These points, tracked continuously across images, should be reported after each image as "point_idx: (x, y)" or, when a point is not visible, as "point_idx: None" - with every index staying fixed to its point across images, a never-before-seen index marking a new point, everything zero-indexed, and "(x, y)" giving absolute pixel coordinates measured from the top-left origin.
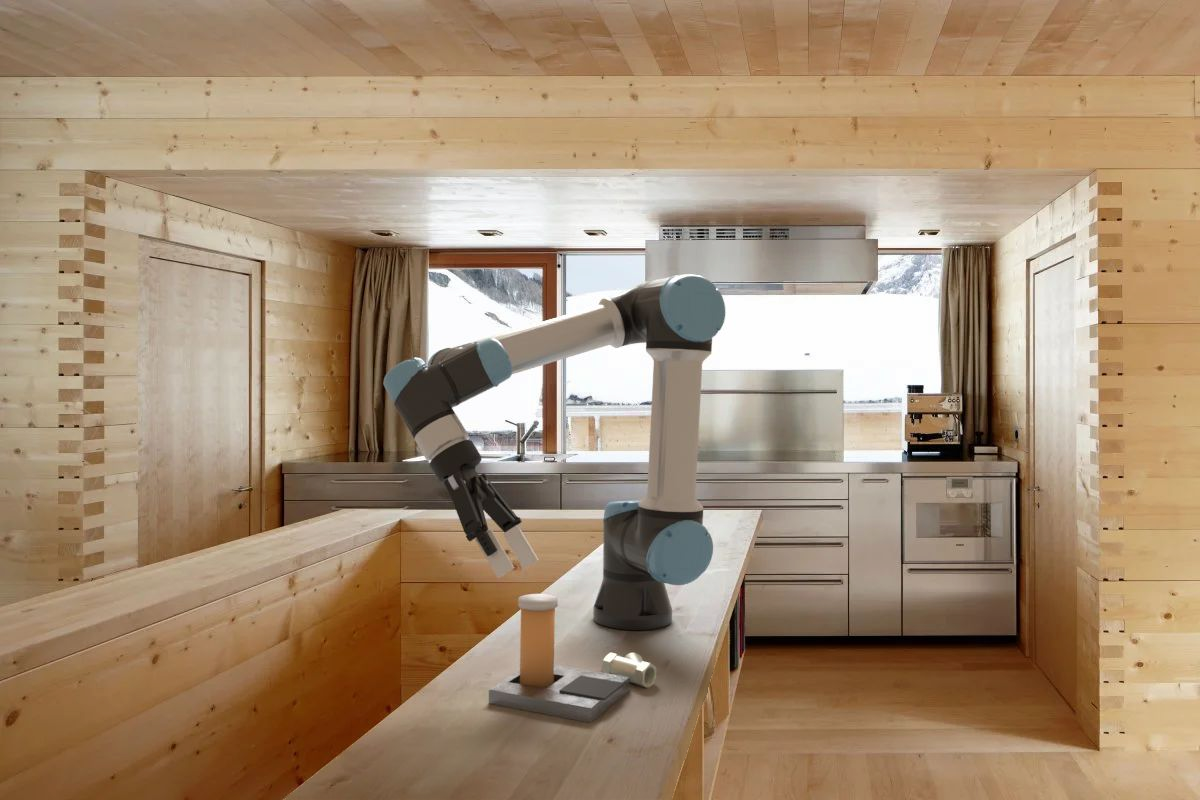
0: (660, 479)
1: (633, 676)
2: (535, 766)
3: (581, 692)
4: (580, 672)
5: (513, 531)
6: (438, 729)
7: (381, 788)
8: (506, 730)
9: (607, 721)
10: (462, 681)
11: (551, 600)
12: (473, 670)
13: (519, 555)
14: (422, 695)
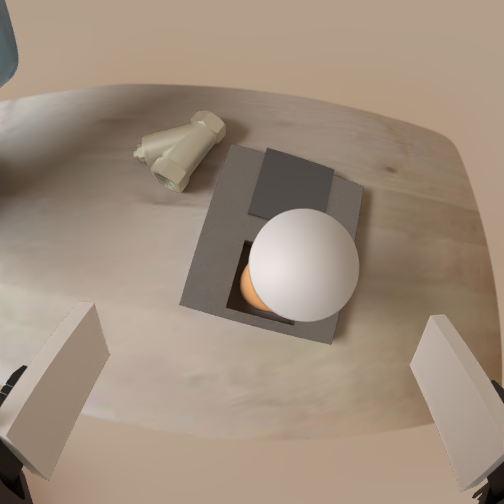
0: None
1: (215, 141)
2: (457, 237)
3: (322, 201)
4: (223, 216)
5: (29, 439)
6: (408, 369)
7: (499, 352)
8: (399, 290)
9: (345, 174)
10: (240, 409)
11: (317, 223)
12: (185, 406)
13: (86, 381)
14: (308, 439)
